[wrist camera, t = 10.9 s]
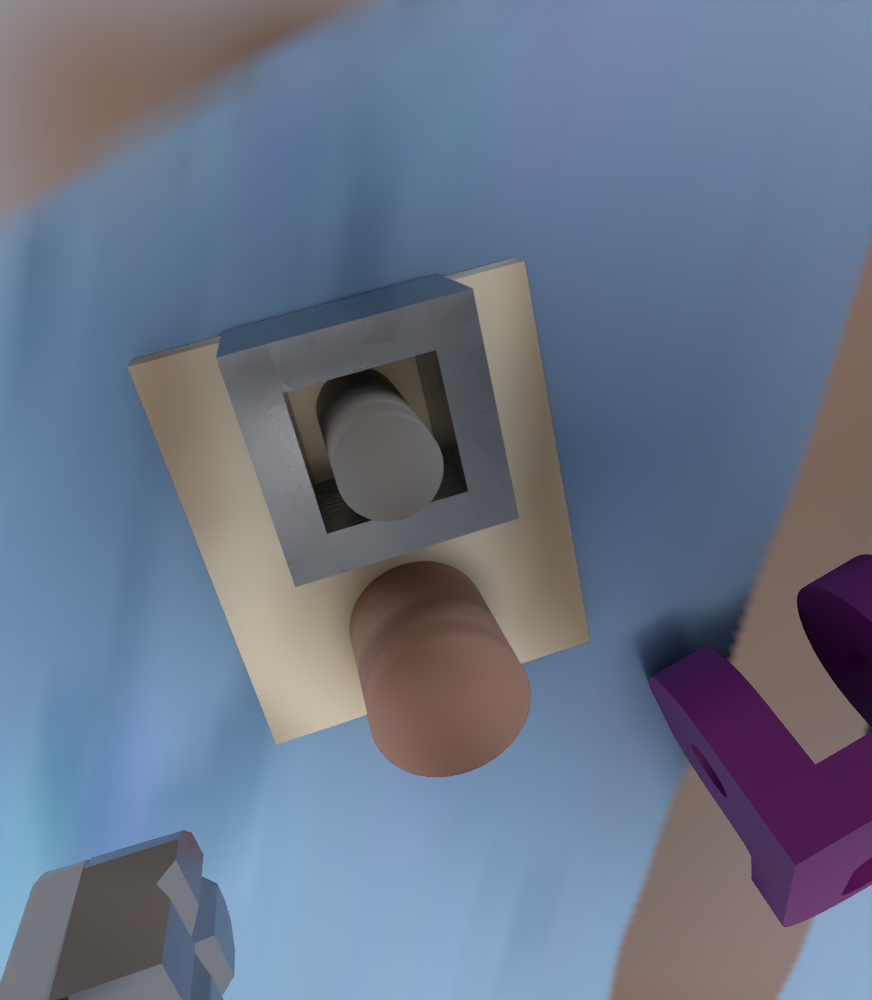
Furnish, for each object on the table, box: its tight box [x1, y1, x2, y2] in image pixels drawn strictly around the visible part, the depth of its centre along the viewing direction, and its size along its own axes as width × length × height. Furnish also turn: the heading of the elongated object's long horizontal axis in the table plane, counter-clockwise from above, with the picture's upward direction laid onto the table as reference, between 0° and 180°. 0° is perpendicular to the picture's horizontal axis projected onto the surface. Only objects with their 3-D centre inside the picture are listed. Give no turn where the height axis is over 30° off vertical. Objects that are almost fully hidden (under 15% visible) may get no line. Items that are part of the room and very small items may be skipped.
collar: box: [216, 274, 519, 587], centre depth 22 cm, size 6×6×4 cm
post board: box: [128, 258, 590, 777], centre depth 23 cm, size 12×14×7 cm
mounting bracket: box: [649, 554, 872, 927], centre depth 33 cm, size 9×8×18 cm
